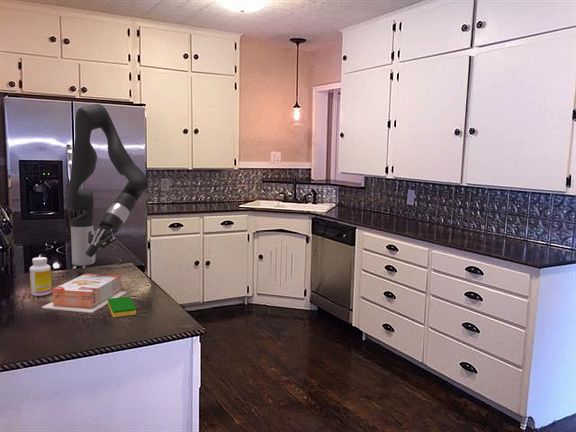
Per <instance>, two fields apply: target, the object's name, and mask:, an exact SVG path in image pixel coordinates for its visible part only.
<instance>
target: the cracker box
mask: <svg viewBox="0 0 576 432" xmlns="http://www.w3.org/2000/svg"><path fill="white" fill-rule="evenodd" d="M121 290H122V275H119V274H99V273H84V274H82V275H80V276H78V277H76V278H73V279H71V280H69V281H67V282H65V283H63V284H61V285H58V286H57V287H54V288H52V292H51V293H52V302H53V305H56V306H72V307H89V308H92V307H94V306H96V305H97V304H99V303H100V302H102V301H104V300H105V299H107V298H108V297H110V296H112V295H113V294H115V293H117V292H118V291H121Z"/></svg>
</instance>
